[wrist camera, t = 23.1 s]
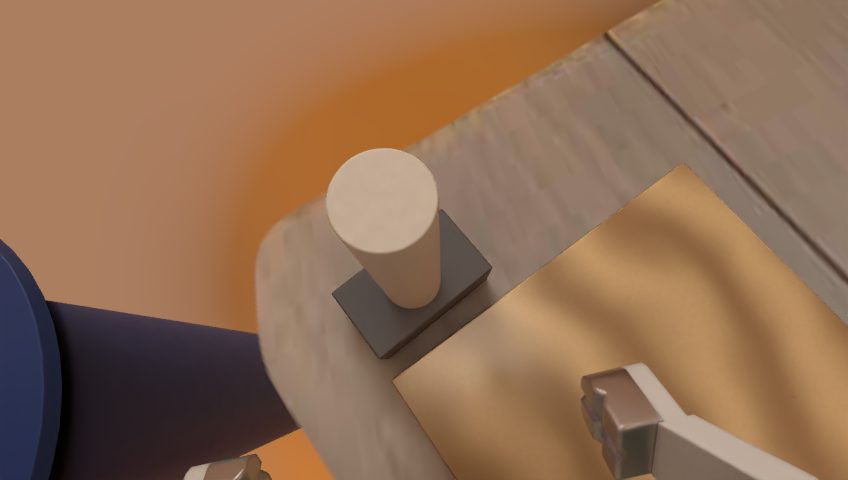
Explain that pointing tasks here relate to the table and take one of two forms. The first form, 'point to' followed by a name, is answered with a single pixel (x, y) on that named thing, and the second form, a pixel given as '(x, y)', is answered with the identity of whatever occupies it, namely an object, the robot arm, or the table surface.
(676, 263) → the board
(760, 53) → the table surface
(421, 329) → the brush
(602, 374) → the robot arm
